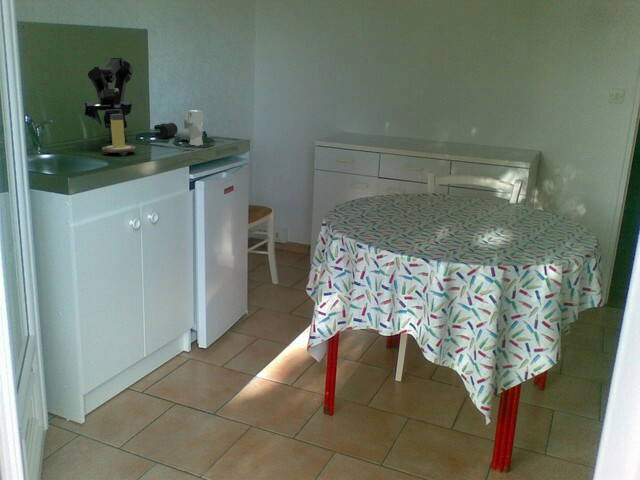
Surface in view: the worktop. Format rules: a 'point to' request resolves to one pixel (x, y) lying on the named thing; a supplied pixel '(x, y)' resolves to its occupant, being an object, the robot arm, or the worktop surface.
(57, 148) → the worktop surface
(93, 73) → the robot arm
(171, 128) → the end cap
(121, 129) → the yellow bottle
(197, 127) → the beer glass
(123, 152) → the levelling base
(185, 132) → the air freshener
